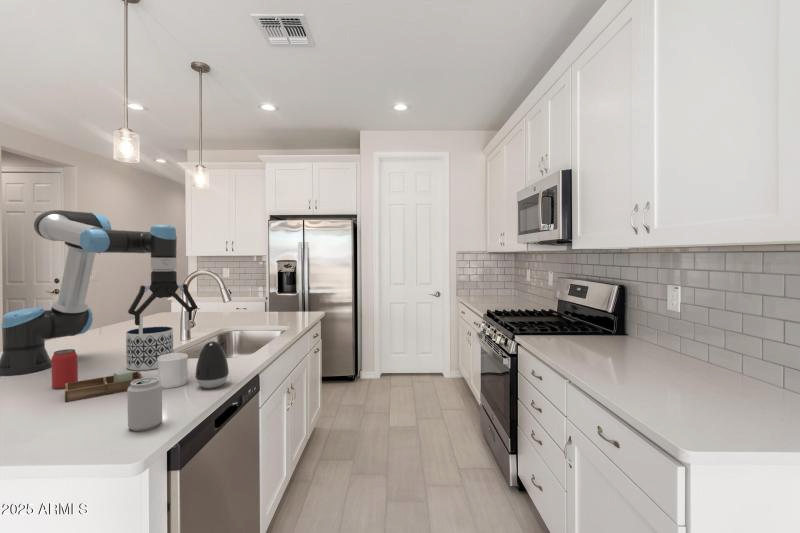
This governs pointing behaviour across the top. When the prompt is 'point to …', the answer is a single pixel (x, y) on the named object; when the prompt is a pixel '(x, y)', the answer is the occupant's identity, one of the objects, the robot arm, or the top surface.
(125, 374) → the sage block
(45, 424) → the top surface
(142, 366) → the planter
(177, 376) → the cup
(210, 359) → the egg shaped speaker
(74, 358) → the beer can
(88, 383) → the tray
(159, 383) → the can
